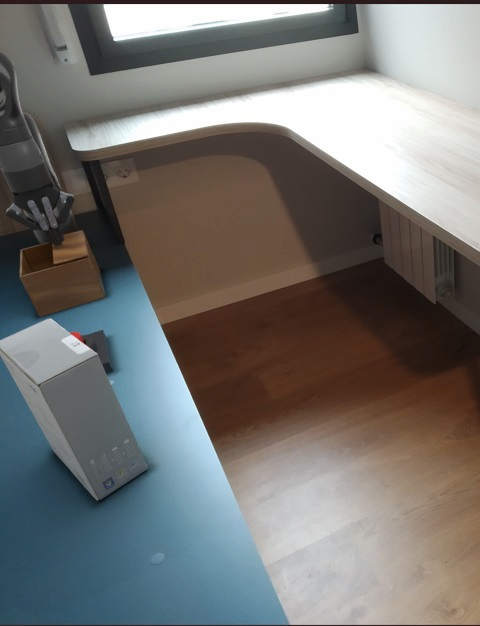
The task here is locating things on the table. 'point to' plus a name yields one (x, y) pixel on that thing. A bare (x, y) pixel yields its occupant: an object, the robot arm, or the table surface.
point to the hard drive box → (74, 405)
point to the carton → (59, 279)
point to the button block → (99, 348)
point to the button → (77, 336)
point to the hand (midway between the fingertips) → (58, 244)
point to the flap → (70, 248)
